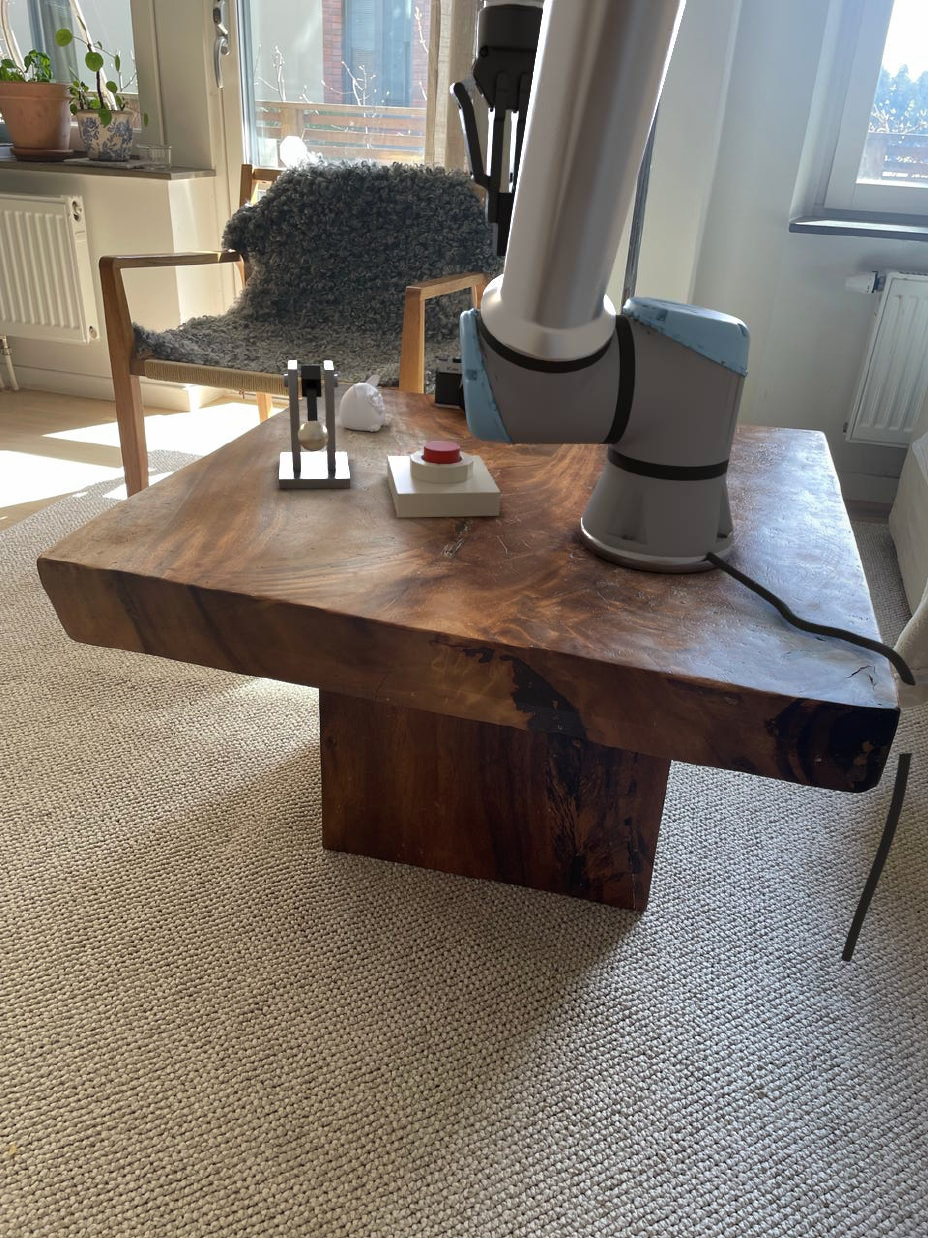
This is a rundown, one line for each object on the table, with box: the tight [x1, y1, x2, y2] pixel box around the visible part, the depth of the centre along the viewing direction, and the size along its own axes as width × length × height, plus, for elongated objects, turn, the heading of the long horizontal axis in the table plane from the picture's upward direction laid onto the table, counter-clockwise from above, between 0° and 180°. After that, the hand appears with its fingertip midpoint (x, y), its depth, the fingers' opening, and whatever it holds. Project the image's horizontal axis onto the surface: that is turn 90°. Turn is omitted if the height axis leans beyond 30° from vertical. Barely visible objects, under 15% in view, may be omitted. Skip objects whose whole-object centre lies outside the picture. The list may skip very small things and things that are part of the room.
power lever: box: [298, 364, 328, 452], centre depth 97 cm, size 13×3×3 cm, turn 9°
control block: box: [386, 449, 501, 518], centre depth 100 cm, size 13×11×4 cm
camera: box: [433, 355, 466, 414], centre depth 133 cm, size 13×8×9 cm, turn 81°
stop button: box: [423, 440, 461, 464], centre depth 98 cm, size 4×4×2 cm
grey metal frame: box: [278, 360, 351, 490], centre depth 102 cm, size 10×8×13 cm
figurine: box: [338, 373, 390, 433], centre depth 123 cm, size 8×6×7 cm
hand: (500, 254), depth 102 cm, fingers closed
